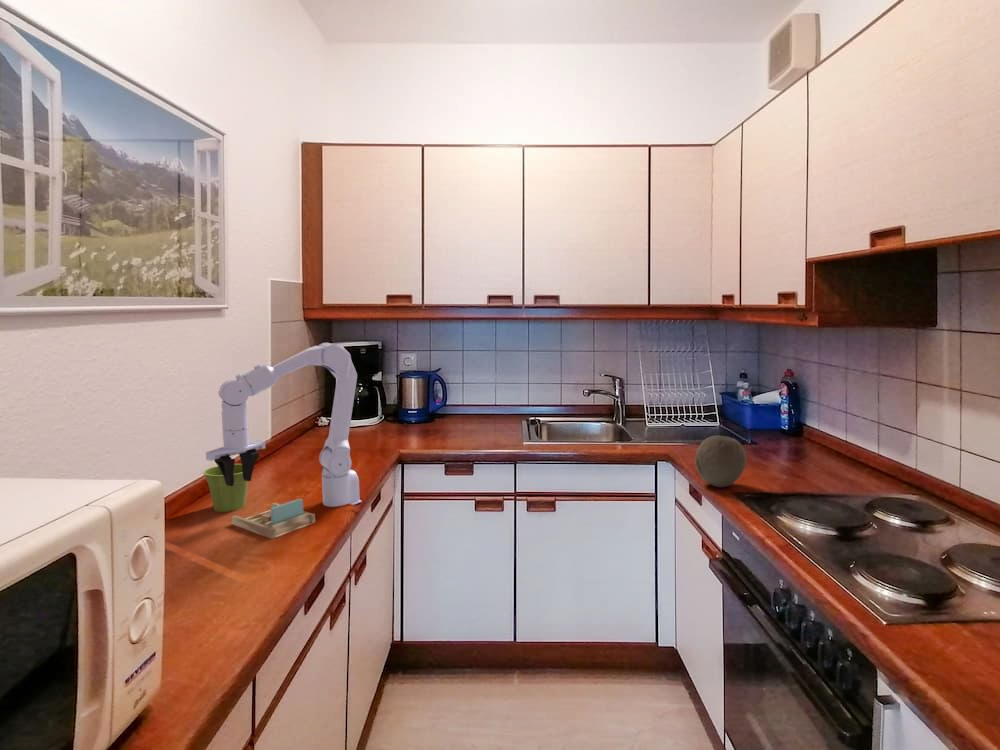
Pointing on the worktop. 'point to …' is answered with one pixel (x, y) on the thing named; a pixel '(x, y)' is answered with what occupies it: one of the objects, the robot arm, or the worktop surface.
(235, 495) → the plant pot
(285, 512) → the teal rectangular plate
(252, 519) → the rack
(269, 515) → the offcut upper
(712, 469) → the cantaloupe
